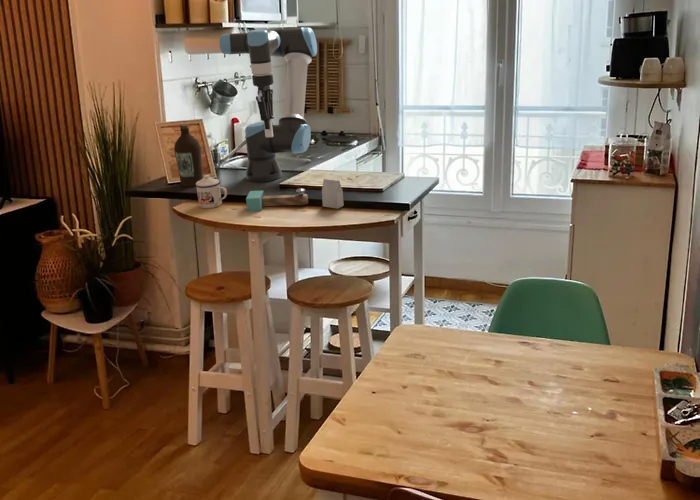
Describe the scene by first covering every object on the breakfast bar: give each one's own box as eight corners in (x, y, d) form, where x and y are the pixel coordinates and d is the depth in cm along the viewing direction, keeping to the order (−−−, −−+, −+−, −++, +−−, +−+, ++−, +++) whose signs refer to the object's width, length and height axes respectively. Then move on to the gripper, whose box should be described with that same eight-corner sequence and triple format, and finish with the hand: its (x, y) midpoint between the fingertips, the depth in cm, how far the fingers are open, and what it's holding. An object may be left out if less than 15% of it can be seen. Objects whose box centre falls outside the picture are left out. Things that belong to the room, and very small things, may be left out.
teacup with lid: (194, 208, 283) (190, 178, 279) (205, 201, 291) (201, 171, 287) (223, 209, 280) (219, 179, 275) (233, 202, 288) (229, 172, 283)
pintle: (296, 193, 280) (296, 188, 279) (305, 193, 280) (305, 188, 279) (295, 196, 277) (295, 191, 276) (305, 196, 277) (304, 190, 276)
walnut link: (308, 201, 282) (308, 193, 281) (307, 205, 277) (306, 197, 276) (252, 203, 283) (251, 195, 282) (250, 207, 279) (249, 199, 278)
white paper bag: (338, 208, 272) (336, 182, 268) (322, 206, 276) (320, 180, 272) (343, 205, 275) (341, 179, 271) (328, 203, 279) (326, 177, 275)
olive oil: (186, 180, 322) (178, 122, 312) (209, 180, 319) (201, 122, 310) (175, 187, 312) (166, 127, 303) (198, 187, 309) (190, 127, 300)
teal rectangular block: (251, 203, 284) (250, 191, 282) (264, 203, 284) (263, 190, 282) (247, 211, 275) (245, 198, 273) (260, 211, 275) (259, 198, 273)
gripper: (258, 70, 281) (265, 132, 290) (246, 77, 269) (254, 141, 279) (277, 70, 279) (284, 132, 289) (266, 77, 268) (273, 141, 277)
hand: (269, 136), depth 284 cm, fingers closed
